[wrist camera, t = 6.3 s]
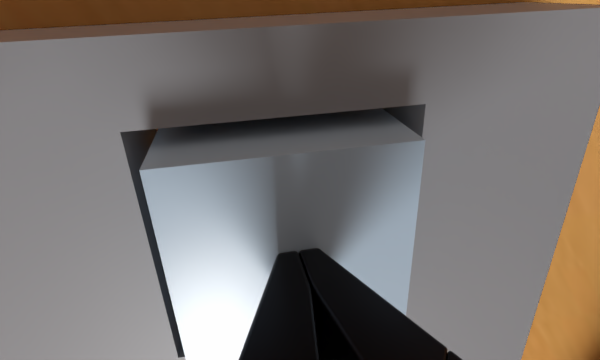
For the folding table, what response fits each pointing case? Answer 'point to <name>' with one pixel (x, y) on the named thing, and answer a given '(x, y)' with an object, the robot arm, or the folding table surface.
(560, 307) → the folding table surface
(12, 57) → the key panel
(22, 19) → the folding table surface
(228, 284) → the slate key
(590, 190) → the folding table surface
